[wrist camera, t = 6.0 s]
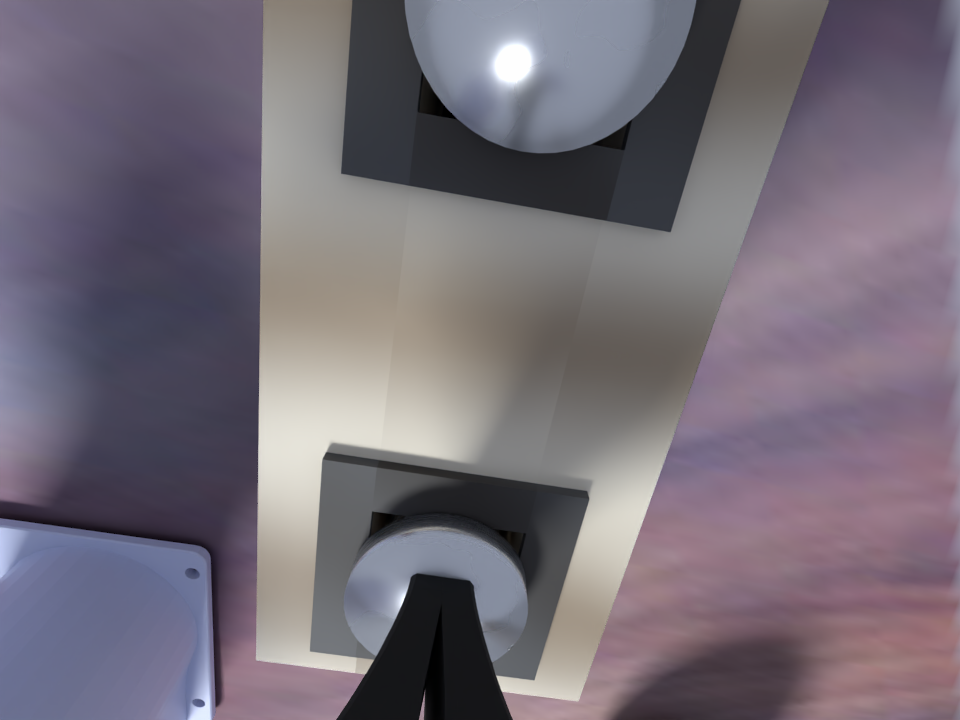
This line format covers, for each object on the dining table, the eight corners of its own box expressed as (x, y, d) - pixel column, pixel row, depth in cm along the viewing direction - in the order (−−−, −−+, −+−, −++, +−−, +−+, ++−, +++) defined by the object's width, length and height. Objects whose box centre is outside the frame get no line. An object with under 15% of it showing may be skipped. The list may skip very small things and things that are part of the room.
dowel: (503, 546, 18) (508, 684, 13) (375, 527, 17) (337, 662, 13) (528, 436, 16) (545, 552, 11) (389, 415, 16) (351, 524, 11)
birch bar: (556, 568, 20) (580, 711, 15) (311, 534, 19) (251, 670, 14) (754, -106, 12) (938, -274, 7) (355, -192, 12) (258, -436, 7)
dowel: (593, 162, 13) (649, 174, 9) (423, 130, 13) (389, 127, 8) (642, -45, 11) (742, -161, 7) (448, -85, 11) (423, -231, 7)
